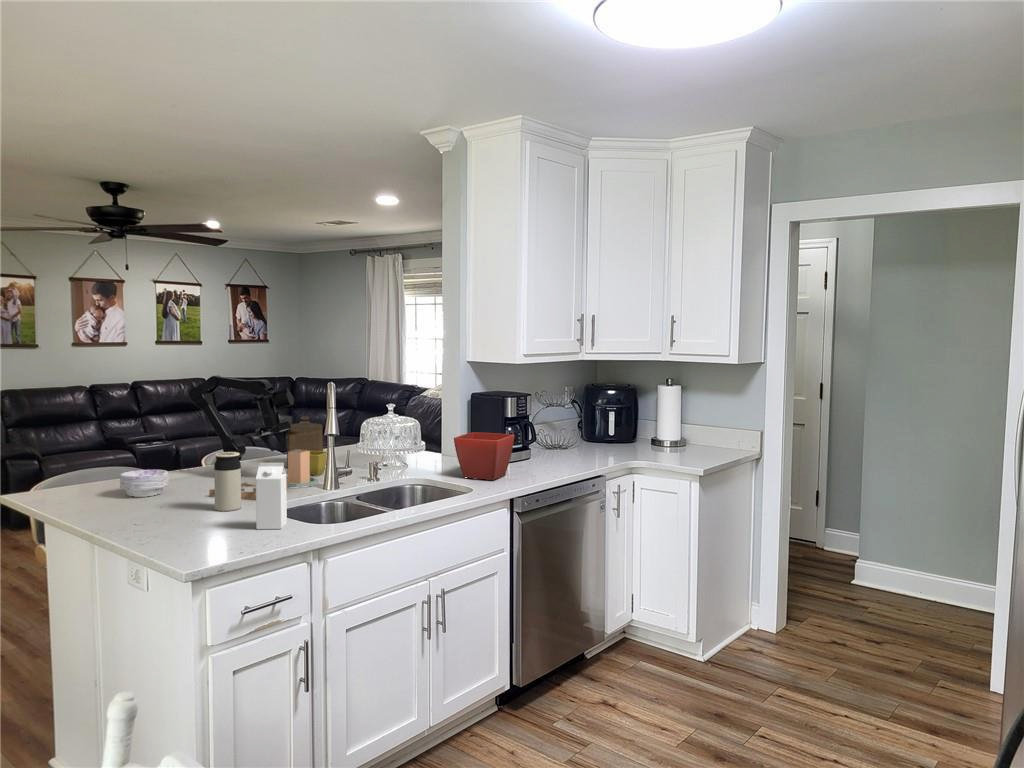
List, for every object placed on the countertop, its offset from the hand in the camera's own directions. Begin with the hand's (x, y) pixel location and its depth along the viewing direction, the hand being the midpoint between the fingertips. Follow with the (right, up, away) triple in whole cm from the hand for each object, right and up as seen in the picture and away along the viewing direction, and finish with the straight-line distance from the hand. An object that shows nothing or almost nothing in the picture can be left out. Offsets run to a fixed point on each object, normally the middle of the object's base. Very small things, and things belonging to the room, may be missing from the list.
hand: (278, 450), depth 286 cm
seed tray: (-8, -13, -28) cm, 32 cm away
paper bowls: (-38, -13, -29) cm, 49 cm away
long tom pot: (+10, -12, -9) cm, 18 cm away
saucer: (+10, -12, -9) cm, 18 cm away
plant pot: (+80, -12, +9) cm, 81 cm away
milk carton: (+20, -17, -69) cm, 74 cm away
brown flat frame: (-3, -13, -24) cm, 27 cm away
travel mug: (-1, -15, -48) cm, 51 cm away
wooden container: (+3, -10, +27) cm, 29 cm away
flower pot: (+11, -11, +10) cm, 19 cm away
